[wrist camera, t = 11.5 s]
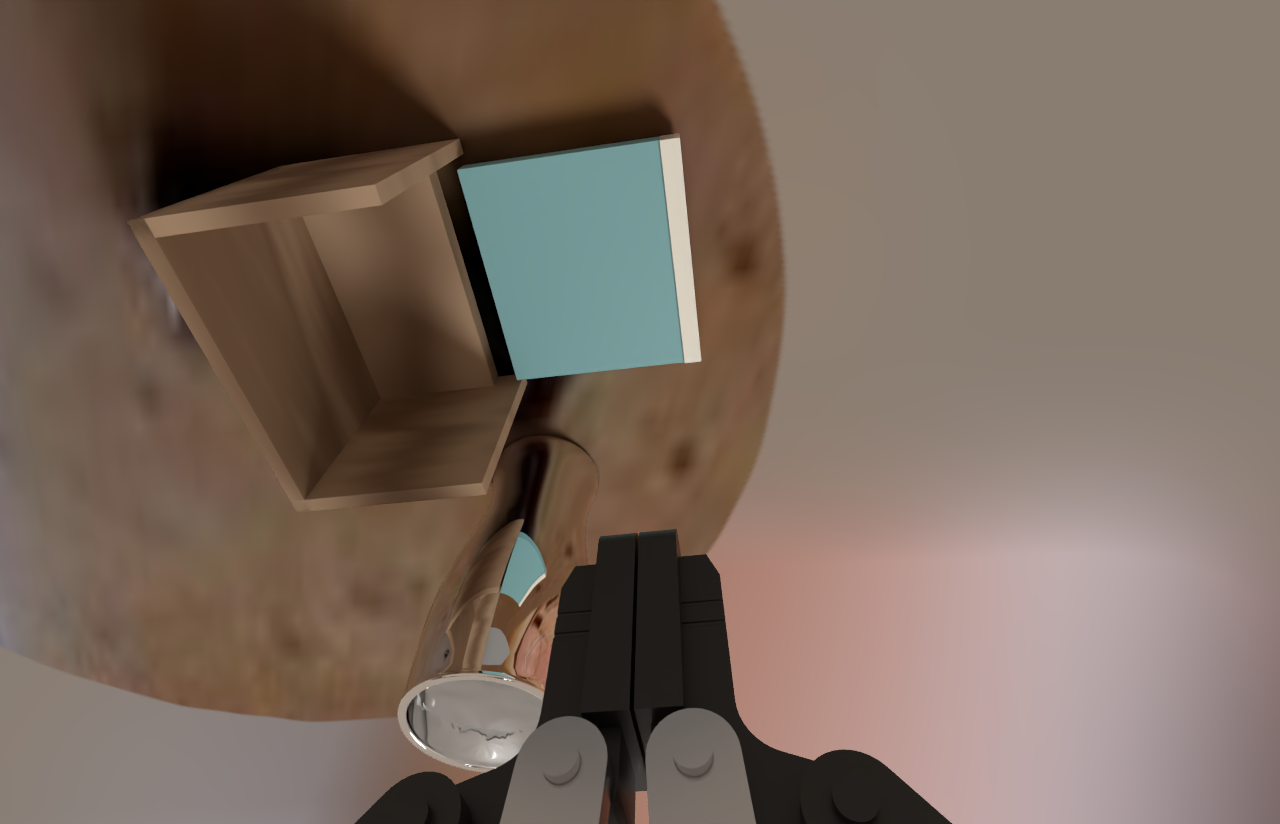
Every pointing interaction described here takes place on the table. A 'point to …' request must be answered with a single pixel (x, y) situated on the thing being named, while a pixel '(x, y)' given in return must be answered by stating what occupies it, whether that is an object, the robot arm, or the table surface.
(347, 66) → the table surface
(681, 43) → the table surface
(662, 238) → the teal panel
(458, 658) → the beer glass
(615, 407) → the table surface
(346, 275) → the crate
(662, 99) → the table surface
